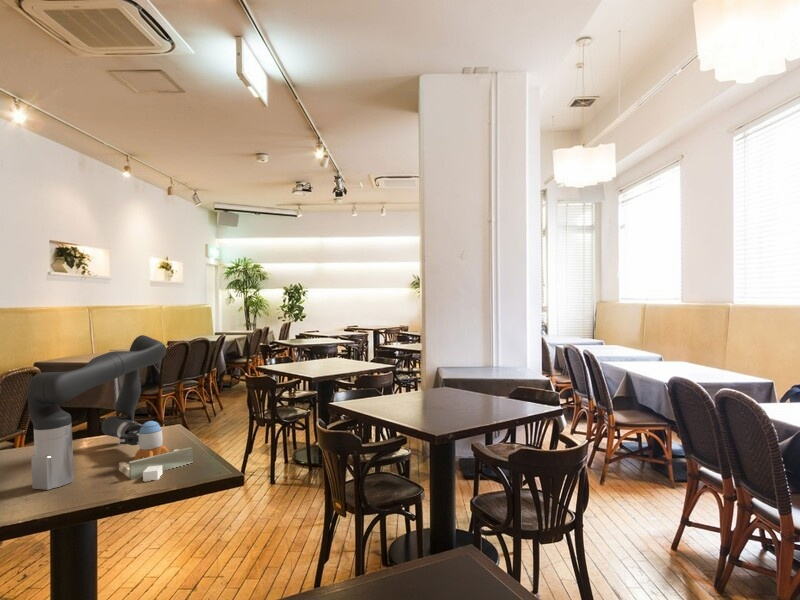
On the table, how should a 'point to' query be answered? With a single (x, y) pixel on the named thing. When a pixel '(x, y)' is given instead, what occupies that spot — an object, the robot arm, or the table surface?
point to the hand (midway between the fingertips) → (148, 440)
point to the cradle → (157, 462)
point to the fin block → (152, 473)
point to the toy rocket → (150, 441)
